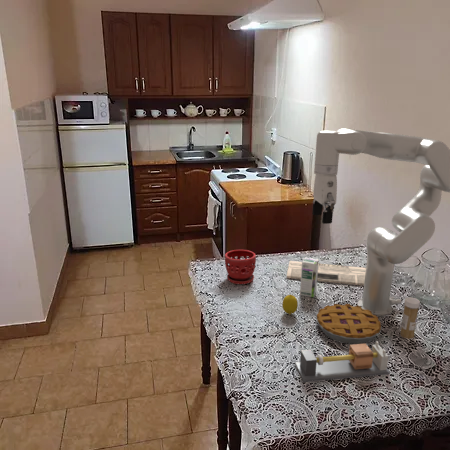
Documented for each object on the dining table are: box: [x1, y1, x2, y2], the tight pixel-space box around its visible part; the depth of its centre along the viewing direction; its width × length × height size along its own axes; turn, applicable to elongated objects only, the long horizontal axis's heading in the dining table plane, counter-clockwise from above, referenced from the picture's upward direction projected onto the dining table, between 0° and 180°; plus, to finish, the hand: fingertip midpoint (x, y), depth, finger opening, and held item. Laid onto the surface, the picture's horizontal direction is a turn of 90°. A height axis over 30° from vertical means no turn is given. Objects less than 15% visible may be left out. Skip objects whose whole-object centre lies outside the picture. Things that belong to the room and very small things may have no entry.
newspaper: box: [286, 260, 366, 287], centre depth 190 cm, size 37×19×3 cm, turn 77°
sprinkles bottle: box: [399, 296, 421, 340], centre depth 142 cm, size 5×5×14 cm
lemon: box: [281, 294, 299, 315], centre depth 156 cm, size 6×6×8 cm
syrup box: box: [299, 256, 320, 298], centre depth 170 cm, size 6×6×14 cm
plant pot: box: [224, 249, 257, 285], centre depth 182 cm, size 13×13×12 cm
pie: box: [315, 303, 383, 345], centre depth 147 cm, size 22×22×5 cm
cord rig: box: [294, 340, 391, 383], centre depth 126 cm, size 26×8×7 cm, turn 98°
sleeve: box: [348, 343, 373, 370], centre depth 126 cm, size 5×5×5 cm
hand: (321, 218), depth 146 cm, fingers open, 9 cm apart
